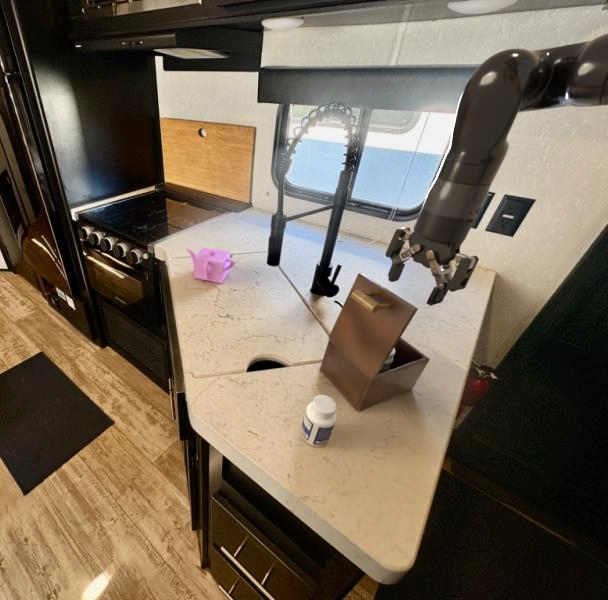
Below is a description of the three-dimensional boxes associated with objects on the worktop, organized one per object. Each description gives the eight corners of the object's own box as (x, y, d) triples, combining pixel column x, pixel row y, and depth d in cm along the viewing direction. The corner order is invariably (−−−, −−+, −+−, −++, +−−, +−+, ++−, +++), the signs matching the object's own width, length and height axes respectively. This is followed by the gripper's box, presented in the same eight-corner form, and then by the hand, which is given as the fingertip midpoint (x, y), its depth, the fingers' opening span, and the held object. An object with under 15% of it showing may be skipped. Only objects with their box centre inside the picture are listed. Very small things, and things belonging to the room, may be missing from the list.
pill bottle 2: (358, 367, 74) (369, 341, 69) (376, 365, 75) (388, 339, 70) (369, 382, 70) (381, 356, 66) (388, 380, 71) (402, 354, 66)
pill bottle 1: (331, 430, 62) (344, 399, 56) (324, 452, 58) (336, 422, 52) (304, 417, 64) (314, 386, 58) (296, 438, 60) (305, 407, 55)
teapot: (179, 280, 108) (177, 254, 102) (194, 262, 118) (194, 237, 113) (228, 290, 103) (230, 263, 97) (240, 270, 113) (241, 245, 107)
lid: (361, 272, 60) (341, 273, 58) (418, 308, 51) (397, 311, 49) (330, 337, 69) (312, 340, 67) (374, 379, 59) (354, 383, 57)
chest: (369, 352, 80) (381, 323, 74) (411, 389, 70) (430, 359, 64) (319, 369, 75) (328, 339, 69) (357, 411, 65) (372, 381, 60)
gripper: (396, 198, 54) (367, 277, 64) (480, 227, 43) (431, 317, 53) (426, 193, 57) (395, 270, 66) (513, 220, 46) (461, 308, 55)
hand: (411, 291), depth 59 cm, fingers open, 8 cm apart
